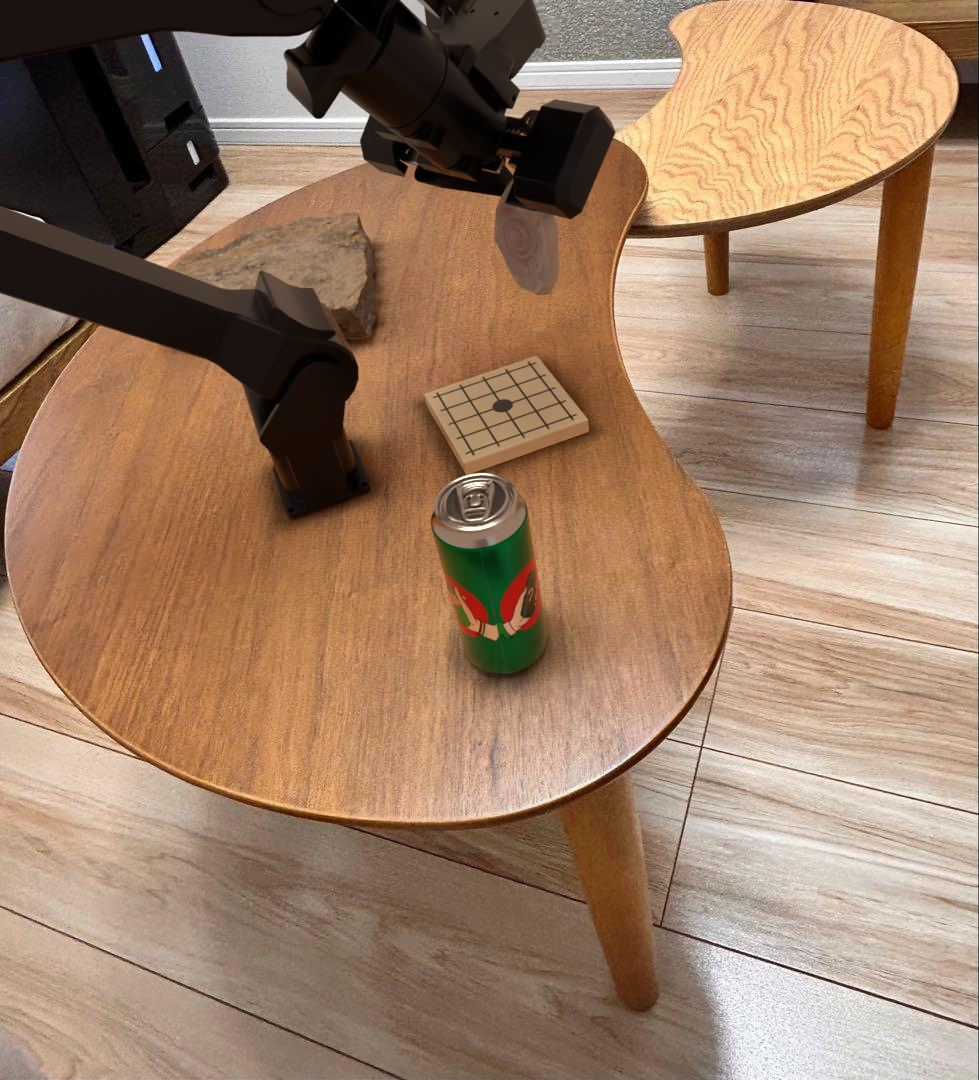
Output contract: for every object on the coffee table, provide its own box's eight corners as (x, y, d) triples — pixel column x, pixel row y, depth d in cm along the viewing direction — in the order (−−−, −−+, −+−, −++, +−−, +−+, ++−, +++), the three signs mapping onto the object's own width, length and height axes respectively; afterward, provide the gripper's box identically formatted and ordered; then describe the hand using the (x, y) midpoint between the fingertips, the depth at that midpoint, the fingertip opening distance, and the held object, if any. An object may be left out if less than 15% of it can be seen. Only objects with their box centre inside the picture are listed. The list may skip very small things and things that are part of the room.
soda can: (544, 608, 54) (522, 461, 45) (551, 674, 50) (528, 528, 42) (464, 617, 54) (427, 474, 46) (465, 684, 51) (425, 541, 42)
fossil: (495, 291, 69) (478, 163, 62) (528, 274, 70) (515, 147, 64) (543, 313, 65) (531, 179, 59) (577, 295, 67) (569, 162, 60)
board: (589, 432, 65) (588, 418, 64) (466, 475, 64) (463, 463, 63) (538, 367, 72) (537, 354, 71) (426, 405, 71) (423, 392, 70)
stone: (154, 355, 83) (134, 314, 79) (222, 255, 96) (207, 217, 93) (368, 344, 79) (356, 300, 75) (408, 241, 92) (399, 200, 89)
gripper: (591, -53, 45) (697, 107, 58) (355, -61, 55) (490, 76, 68) (506, 156, 46) (627, 266, 59) (291, 110, 56) (435, 212, 69)
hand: (540, 197), depth 64 cm, fingers closed on fossil, 4 cm apart
